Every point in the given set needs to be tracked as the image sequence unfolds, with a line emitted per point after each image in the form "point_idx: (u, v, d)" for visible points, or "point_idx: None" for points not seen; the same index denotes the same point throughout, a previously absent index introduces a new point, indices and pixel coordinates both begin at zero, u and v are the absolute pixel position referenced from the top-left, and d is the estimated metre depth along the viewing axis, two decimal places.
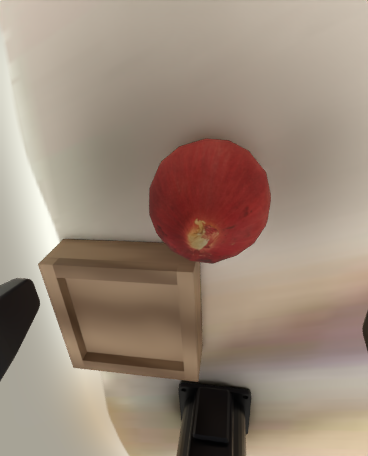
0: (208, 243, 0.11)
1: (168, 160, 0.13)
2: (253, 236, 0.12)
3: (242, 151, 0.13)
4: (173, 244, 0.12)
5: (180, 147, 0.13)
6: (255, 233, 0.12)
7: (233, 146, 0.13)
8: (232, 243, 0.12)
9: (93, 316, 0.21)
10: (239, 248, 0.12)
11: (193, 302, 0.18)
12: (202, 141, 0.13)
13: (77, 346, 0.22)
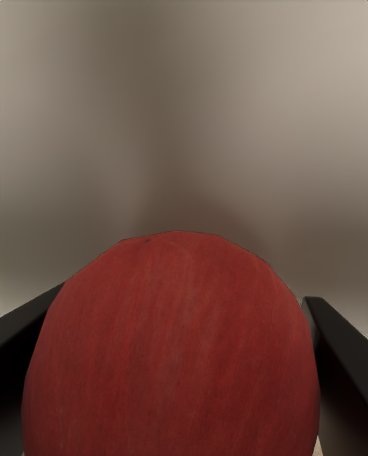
0: None
1: (65, 302, 0.05)
2: None
3: (252, 285, 0.05)
4: None
5: (99, 263, 0.05)
6: None
7: (229, 272, 0.05)
8: None
9: None
10: None
11: None
12: (150, 256, 0.05)
13: None
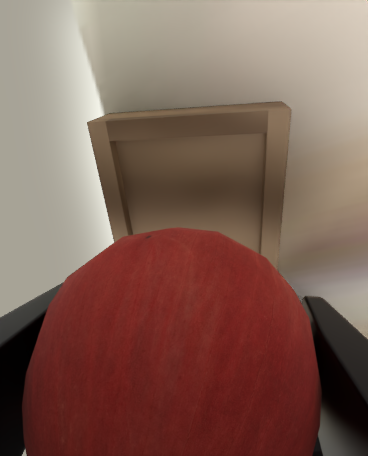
0: None
1: (66, 298, 0.05)
2: None
3: (253, 281, 0.05)
4: None
5: (100, 259, 0.05)
6: None
7: (229, 267, 0.05)
8: None
9: (149, 205, 0.18)
10: None
11: (285, 159, 0.14)
12: (150, 252, 0.05)
13: None
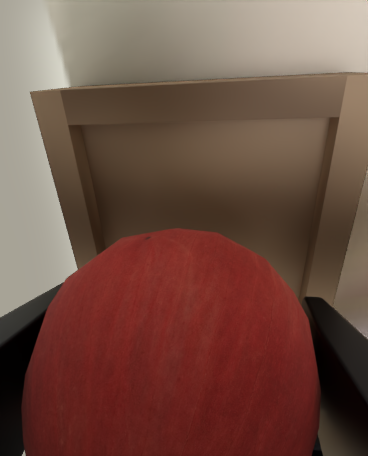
0: None
1: (65, 299, 0.05)
2: None
3: (252, 282, 0.05)
4: None
5: (99, 260, 0.05)
6: None
7: (229, 269, 0.05)
8: None
9: (133, 228, 0.12)
10: None
11: (365, 163, 0.08)
12: (150, 253, 0.05)
13: None
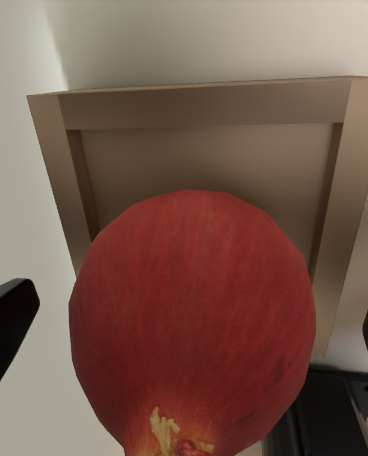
0: None
1: (106, 235, 0.06)
2: (290, 404, 0.06)
3: (257, 217, 0.06)
4: None
5: (132, 207, 0.07)
6: None
7: (238, 207, 0.06)
8: (248, 443, 0.05)
9: None
10: None
11: None
12: (175, 197, 0.06)
13: None
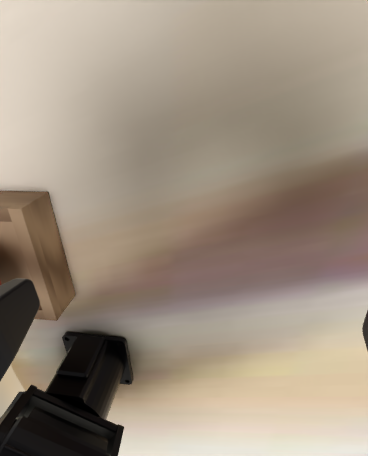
0: None
1: None
2: None
3: None
4: None
5: None
6: None
7: None
8: None
9: None
10: None
11: (29, 238, 0.20)
12: None
13: None
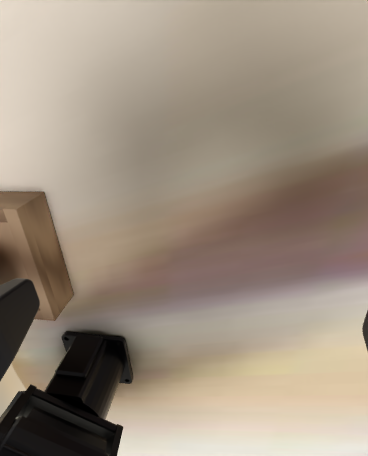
0: None
1: None
2: None
3: None
4: None
5: None
6: None
7: None
8: None
9: None
10: None
11: (25, 239, 0.20)
12: None
13: None
